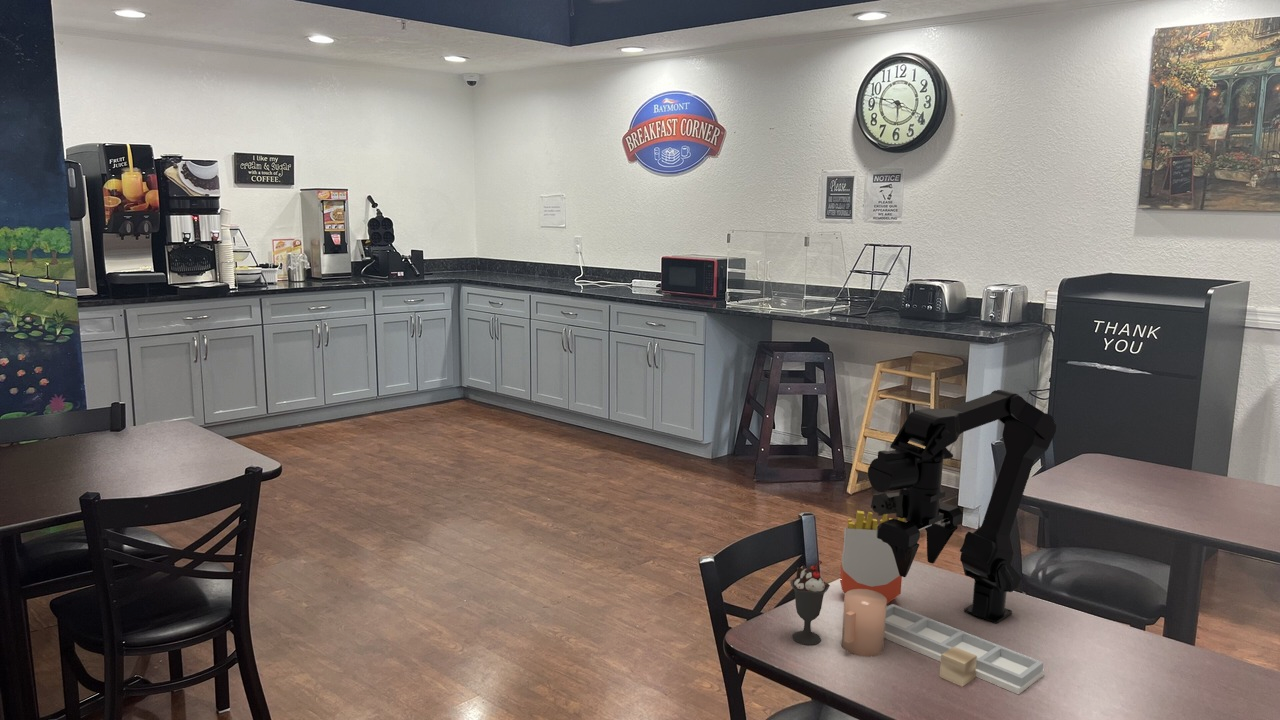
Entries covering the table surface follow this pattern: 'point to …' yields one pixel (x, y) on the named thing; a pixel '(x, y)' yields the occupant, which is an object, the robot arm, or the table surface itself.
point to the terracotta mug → (864, 622)
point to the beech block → (958, 666)
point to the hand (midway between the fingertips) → (917, 569)
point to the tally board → (939, 638)
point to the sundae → (808, 601)
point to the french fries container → (868, 559)
